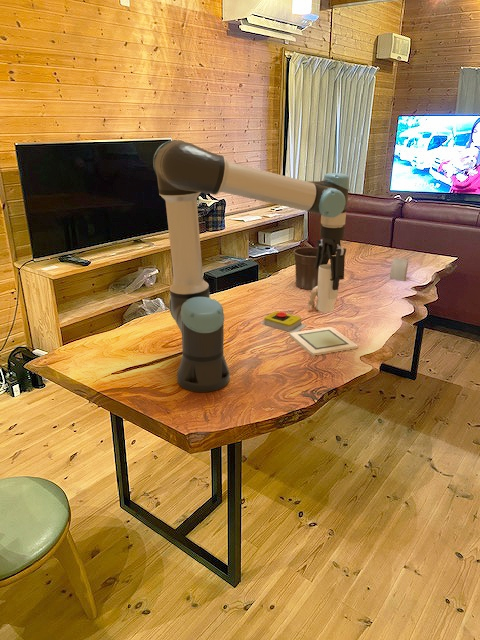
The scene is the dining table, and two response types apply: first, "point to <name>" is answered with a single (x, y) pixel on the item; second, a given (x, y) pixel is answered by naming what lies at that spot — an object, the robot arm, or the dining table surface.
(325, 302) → the drinking glass
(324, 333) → the picture board
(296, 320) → the emergency button
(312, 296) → the unicorn figurine
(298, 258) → the plant pot
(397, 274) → the tea bag
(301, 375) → the dining table surface
